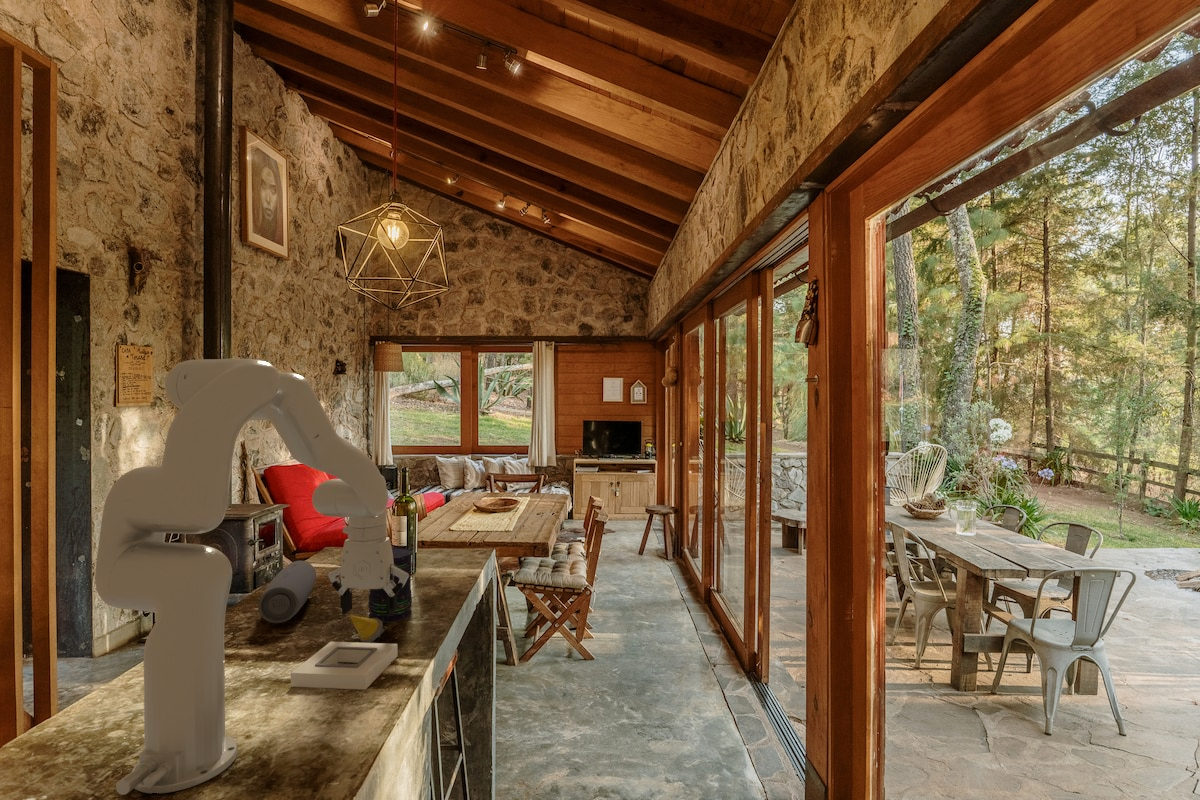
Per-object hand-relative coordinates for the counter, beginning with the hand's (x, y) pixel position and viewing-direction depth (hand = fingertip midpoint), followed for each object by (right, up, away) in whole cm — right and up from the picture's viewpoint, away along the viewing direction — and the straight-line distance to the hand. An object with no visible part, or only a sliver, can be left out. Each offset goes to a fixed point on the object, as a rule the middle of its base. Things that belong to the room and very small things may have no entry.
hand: (369, 612), depth 131 cm
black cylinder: (-1, -6, +16) cm, 17 cm away
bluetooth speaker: (-26, -6, +18) cm, 33 cm away
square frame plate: (+1, -7, -13) cm, 15 cm away
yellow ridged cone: (0, -7, 0) cm, 7 cm away
